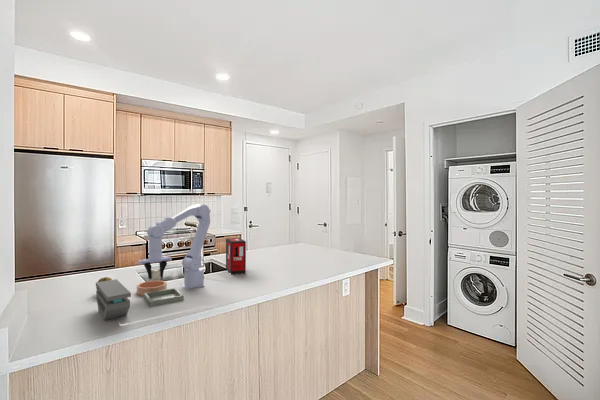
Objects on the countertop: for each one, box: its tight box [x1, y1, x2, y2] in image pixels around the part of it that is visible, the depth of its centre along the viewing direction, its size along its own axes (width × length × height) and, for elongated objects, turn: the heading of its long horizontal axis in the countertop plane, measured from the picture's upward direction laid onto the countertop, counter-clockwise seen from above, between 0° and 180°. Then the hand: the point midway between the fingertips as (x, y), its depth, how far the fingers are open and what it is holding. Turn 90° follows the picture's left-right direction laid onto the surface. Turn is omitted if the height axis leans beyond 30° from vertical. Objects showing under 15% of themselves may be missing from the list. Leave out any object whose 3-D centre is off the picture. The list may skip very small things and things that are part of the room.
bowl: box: [136, 279, 168, 297], centre depth 154 cm, size 13×13×4 cm
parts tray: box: [143, 287, 185, 307], centre depth 143 cm, size 14×14×3 cm
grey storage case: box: [95, 279, 132, 321], centre depth 126 cm, size 25×8×11 cm, turn 42°
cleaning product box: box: [225, 237, 247, 275], centre depth 198 cm, size 16×9×20 cm, turn 25°
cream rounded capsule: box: [150, 268, 162, 281], centre depth 150 cm, size 4×4×4 cm
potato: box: [95, 276, 113, 291], centre depth 149 cm, size 8×13×8 cm, turn 26°
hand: (155, 277), depth 150 cm, fingers closed on cream rounded capsule, 4 cm apart
